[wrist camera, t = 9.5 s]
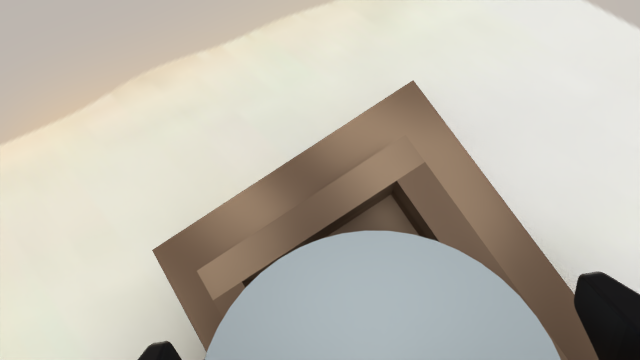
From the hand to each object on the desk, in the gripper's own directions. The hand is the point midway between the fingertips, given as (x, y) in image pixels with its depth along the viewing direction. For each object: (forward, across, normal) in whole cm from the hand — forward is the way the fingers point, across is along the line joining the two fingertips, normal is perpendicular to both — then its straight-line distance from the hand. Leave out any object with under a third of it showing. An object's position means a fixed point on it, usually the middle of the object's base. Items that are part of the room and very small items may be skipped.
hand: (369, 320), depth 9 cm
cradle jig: (+7, 0, +8) cm, 10 cm away
